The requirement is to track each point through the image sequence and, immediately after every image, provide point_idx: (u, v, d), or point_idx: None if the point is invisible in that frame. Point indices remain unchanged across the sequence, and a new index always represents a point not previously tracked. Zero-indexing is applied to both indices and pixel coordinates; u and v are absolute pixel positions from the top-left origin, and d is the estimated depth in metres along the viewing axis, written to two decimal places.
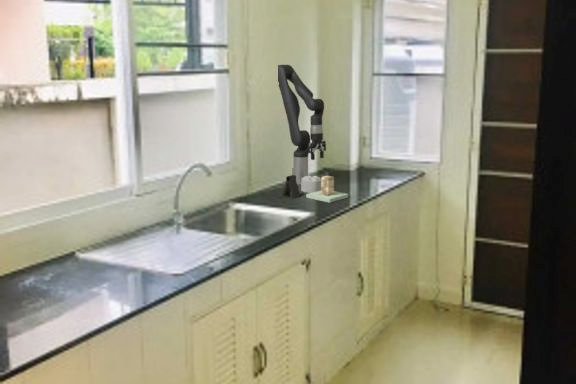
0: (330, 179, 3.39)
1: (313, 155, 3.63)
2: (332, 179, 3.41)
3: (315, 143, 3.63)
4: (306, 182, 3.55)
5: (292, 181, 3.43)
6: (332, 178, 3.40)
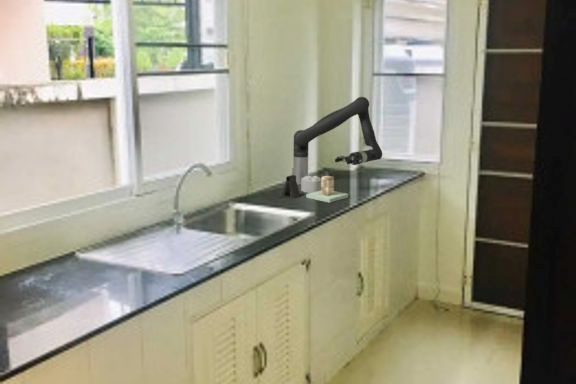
0: (330, 179, 3.39)
1: (350, 163, 3.47)
2: (332, 179, 3.41)
3: None
4: (306, 182, 3.55)
5: (292, 181, 3.43)
6: (332, 178, 3.40)
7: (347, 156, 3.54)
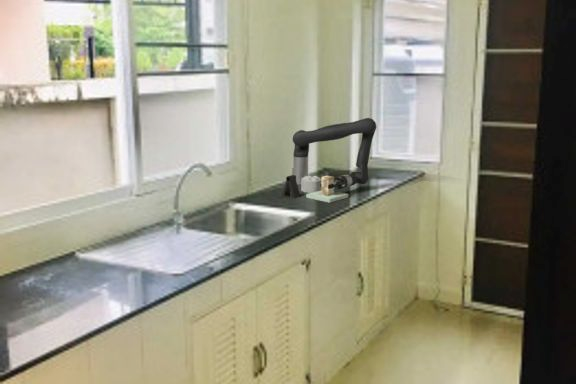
0: (330, 179, 3.39)
1: (331, 187, 3.40)
2: (332, 179, 3.41)
3: None
4: (306, 182, 3.55)
5: (292, 181, 3.43)
6: (332, 178, 3.40)
7: None
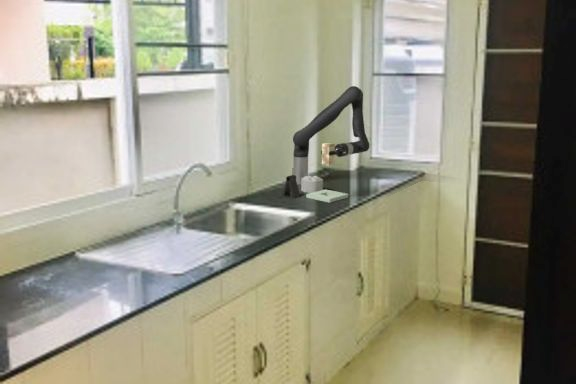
0: (331, 146, 3.35)
1: (332, 154, 3.36)
2: (333, 146, 3.36)
3: None
4: (306, 182, 3.55)
5: (292, 181, 3.43)
6: (333, 145, 3.36)
7: None
